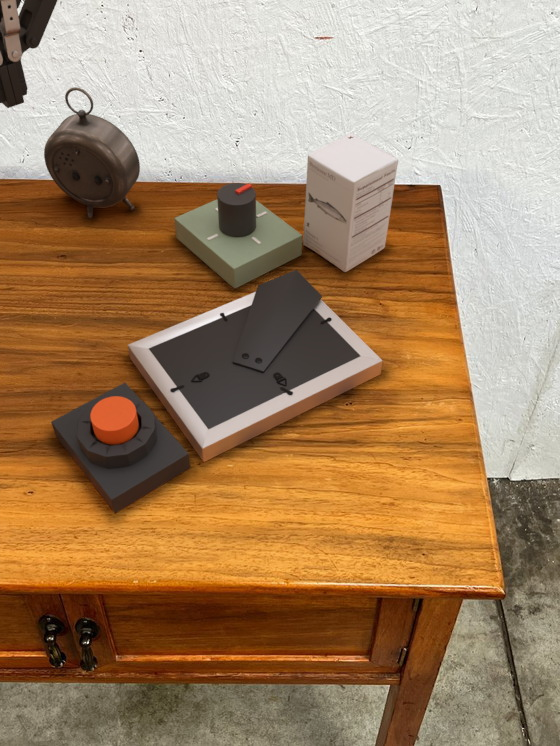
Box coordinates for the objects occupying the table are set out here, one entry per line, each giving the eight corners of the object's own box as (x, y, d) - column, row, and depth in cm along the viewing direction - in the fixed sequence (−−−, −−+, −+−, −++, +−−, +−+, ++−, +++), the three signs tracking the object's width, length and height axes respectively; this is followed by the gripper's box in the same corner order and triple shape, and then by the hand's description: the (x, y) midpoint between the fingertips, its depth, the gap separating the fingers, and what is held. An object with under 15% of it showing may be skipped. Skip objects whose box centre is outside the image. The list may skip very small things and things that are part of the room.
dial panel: (176, 238, 95) (173, 216, 92) (241, 208, 99) (241, 187, 97) (234, 289, 88) (233, 267, 86) (301, 255, 93) (302, 233, 90)
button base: (55, 436, 74) (46, 409, 71) (128, 396, 77) (122, 369, 74) (115, 513, 68) (108, 488, 65) (190, 467, 72) (187, 441, 69)
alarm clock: (147, 204, 99) (130, 84, 87) (129, 229, 96) (109, 107, 84) (70, 189, 101) (44, 69, 89) (49, 212, 98) (19, 91, 86)
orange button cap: (85, 424, 70) (81, 410, 69) (124, 403, 72) (121, 389, 70) (108, 452, 68) (104, 438, 67) (147, 430, 70) (144, 416, 68)
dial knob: (236, 242, 89) (234, 207, 86) (211, 225, 91) (209, 190, 88) (263, 226, 91) (263, 191, 88) (239, 210, 94) (237, 175, 90)
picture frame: (295, 288, 89) (130, 358, 81) (296, 269, 86) (126, 339, 79) (380, 374, 80) (203, 462, 72) (383, 355, 78) (201, 443, 70)
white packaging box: (300, 245, 94) (304, 153, 85) (343, 221, 97) (352, 130, 88) (344, 275, 90) (353, 182, 81) (387, 249, 94) (400, 156, 84)
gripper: (-125, -98, 49) (-44, 145, 62) (62, -134, 55) (101, 96, 68) (-163, -126, 53) (-80, 108, 66) (15, -157, 59) (60, 64, 72)
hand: (11, 101), depth 67 cm, fingers closed
